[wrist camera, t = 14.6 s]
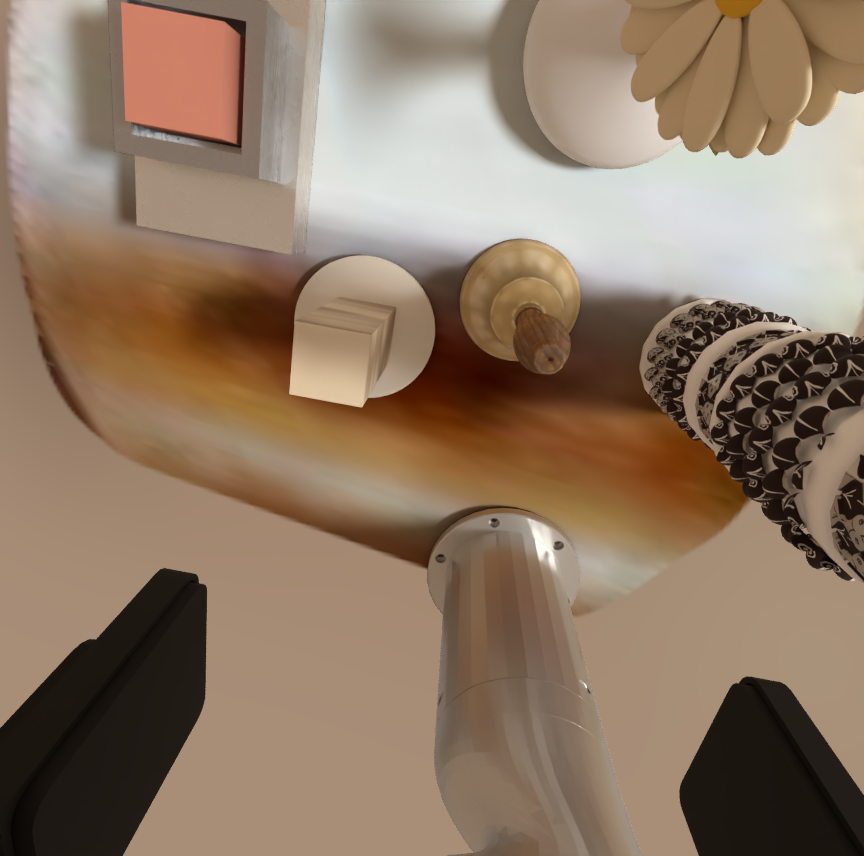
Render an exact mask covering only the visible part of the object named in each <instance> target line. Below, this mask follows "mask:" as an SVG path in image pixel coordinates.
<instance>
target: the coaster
mask: <svg viewBox="0 0 864 856" xmlns="http://www.w3.org/2000/svg"><path fill="white" fill-rule="evenodd" d="M338 297H344V298H350V299H355V300H360V301H366V302H371V303H377V304H382V305H387V306H393V307H396V314H395V321H394V328H393V335H392V342H391V349H390V355H389V362H388V364H387V366H386V368H385V369H384V371H383V373H382V375H381V376H380V378H379V380H378V381H377V383H376V385H375V386H374V388H373V390H372V391H371V393H370V395H369V397H368V398H375V397H382V396H386V395H390V394H392V393H395V392H397V391H399V390H401V389H403V388H404V387H406V386H407V385H409V384H410V383H411V382H412V381H413V380H415V379H416V378H417V376H418V375H419V374H420V373H421V372H422V370H423V369H424V367H425V365H426V364H427V362H428V360H429V357H430V355H431V352H432V348H433V345H434V340H435V317H434V313H433V309H432V306H431V303H430V300H429V298H428V296H427V294H426V292H425V291H424V289H423V288H422V286H421V285H420V284H419V282H418V281H417V280H416V279H415V278H414V277H413V276H412V275H411V274H410V273H409V272H408V271H406V270H405V269H404V268H402V267H401V266H399V265H397V264H396V263H393V262H391V261H389V260H387V259H383V258H380V257H375V256H369V255H357V256H349V257H346V258H342V259H338V260H336V261H333V262H331V263H329V264H327V265H326V266H324V267H322V268H321V269H320V270H319V271H317V272H316V273H315V274H314V275H313V276H312V277H311V278H310V279H309V281H308V282H307V283H306V285H305V286H304V288H303V290H302V292H301V294H300V296H299V299H298V302H297V305H296V310H295V317H294V325H295V320H297V319H299V318H301V317H303V316H305V315H307V314H308V313H310V312H312V311H314V310H316V309H318V308H320V307H321V306H323V305H325V304H327V303H329V302H331V301H332V300H334V299H336V298H338Z"/></svg>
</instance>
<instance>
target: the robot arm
mask: <svg viewBox="0 0 864 856" xmlns="http://www.w3.org/2000/svg"><path fill="white" fill-rule="evenodd" d="M492 518H496V519H492ZM556 541H557V542H556ZM427 582H428V586H429V591H430V594H431V597H432V599H433V601H434V603H435V605H436V606H437V607H438V609H439V610H440V612H441V613H442V614H443V623H442V624H443V625H442V639H441V653H440V654H441V655H440V668H439V683H438V698H437V714H436V728H435V747H434V764H435V773H436V779H437V784H438V787H439V790H440V793H441V797H442V800H443V802H444V805H445V807H446V809H447V811H448V813H449V815H450V817H451V819H452V821H453V822H454V824H455V826H456V828H457V829H458V831H459V832H460V834H461V835H462V837H463V839H464V840H465V842H466V843H467V844H468V846H469V847H470V849H471V850H472V851H473V853H468V854H457V855H448V856H642V853H641V850H640V848H639V845H638V842H637V840H636V837H635V834H634V832H633V829H632V826H631V823H630V820H629V817H628V814H627V811H626V808H625V805H624V802H623V799H622V796H621V792H620V789H619V785H618V782H617V778H616V775H615V772H614V768H613V764H612V761H611V757H610V754H609V750H608V746H607V742H606V739H605V735H604V731H603V728H602V725H601V721H600V718H599V714H598V710H597V706H596V702H595V699H594V695H593V691H592V688H591V684H590V680H589V676H588V673H587V669H586V665H585V661H584V657H583V654H582V650H581V646H580V642H579V639H578V635H577V631H576V627H575V623H574V620H573V616H572V612H571V606H572V604H573V602H574V600H575V598H576V596H577V594H578V590H579V586H580V567H579V563H578V559H577V556H576V553H575V550H574V548H573V546H572V544H571V543H570V541H569V539H568V538H567V536H566V535H565V534H564V533H563V532H562V531H561V530H560V529H559V528H558V527H557V526H555V525H554V524H553V523H551V522H550V521H548V520H547V519H545V518H543V517H541V516H539V515H536V514H534V513H531V512H527V511H524V510H520V509H511V508H496V509H487V510H483V511H479V512H475V513H472V514H470V515H468V516H466V517H463V518H461V519H460V520H458V521H457V522H455V523H454V524H452V525H451V526H450V527H449V528H448V529H447V530H446V531H445V532H444V533H443V534H442V535H441V536H440V537H439V539H438V540H437V542H436V543H435V545H434V547H433V549H432V552H431V555H430V557H429V564H428V572H427ZM206 617H207V588H206V585H204V584H199V580H198V576H197V575H196V574H192V573H187V572H182V571H176V570H171V569H166V568H164V569H160V570H159V571H158V572H157V573H156V574H155V575H154V576H153V577H152V578H151V579H150V581H149V582H148V583H147V584H146V585H145V586H144V587H143V588H142V589H141V591H140V592H139V593H138V594H137V595H136V596H135V597H134V598H133V599H132V601H131V602H130V603H129V604H128V605H127V606H126V607H125V608H124V609H123V611H122V612H121V613H120V614H119V615H118V616H117V617H116V618H115V620H113V622H112V623H111V624H110V625H109V626H108V627H107V628H106V629H105V631H103V633H102V634H101V635H100V636H99V637H98V638H97V639H96V640H95V639H89V640H87V641H85V642H83V643H81V644H80V645H79V646H78V647H77V648H75V649H74V650H73V651H72V652H71V653H70V654H69V655H68V656H67V657H66V658H65V659H64V661H63V662H62V663H61V664H60V665H59V666H58V667H57V668H56V669H55V670H54V671H53V672H52V673H51V674H50V676H49V677H48V678H47V679H46V680H45V681H44V682H43V683H42V684H41V685H40V686H39V687H38V688H37V689H36V691H35V692H34V693H33V694H32V695H31V696H30V697H29V698H28V699H27V700H26V701H25V702H24V703H23V704H22V706H21V707H20V708H19V709H18V710H17V711H16V712H15V713H14V714H13V715H12V716H11V717H10V718H9V720H7V722H6V723H5V724H4V725H3V726H2V727H1V728H0V856H123V854H124V852H125V850H126V849H127V847H128V845H129V843H130V841H131V840H132V838H133V836H134V834H135V832H136V830H137V828H138V827H139V825H140V823H141V821H142V820H143V818H144V816H145V814H146V812H147V810H148V809H149V807H150V805H151V803H152V801H153V799H154V798H155V796H156V794H157V792H158V791H159V789H160V787H161V785H162V783H163V781H164V780H165V778H166V776H167V774H168V772H169V770H170V768H171V767H172V765H173V763H174V761H175V760H176V758H177V756H178V754H179V752H180V750H181V749H182V747H183V745H184V743H185V741H186V740H187V738H188V736H189V734H190V732H191V731H192V729H193V727H194V725H195V723H196V721H197V719H198V718H199V716H200V713H201V711H202V708H203V704H204V700H205V683H206V621H207V620H206V619H207V618H206ZM680 803H681V807H682V811H683V813H684V816H685V818H686V822H687V824H688V827H689V830H690V833H691V835H692V838H693V841H694V843H695V846H696V849H697V852H698V854H699V856H864V795H863V794H862V792H861V791H860V789H859V788H858V787H857V785H856V783H855V782H854V781H853V779H852V778H851V776H850V775H849V773H848V772H847V771H846V769H845V768H844V766H843V765H842V763H841V762H840V761H839V759H838V758H837V756H836V755H835V753H834V752H833V750H832V749H831V747H830V746H829V745H828V743H827V742H826V740H825V739H824V737H823V736H822V735H821V733H820V732H819V730H818V729H817V727H816V726H815V725H814V723H813V722H812V720H811V719H810V718H809V716H808V714H807V713H806V711H805V710H804V709H803V707H802V706H801V704H800V703H799V701H798V700H797V698H796V697H795V696H794V694H793V693H792V691H791V690H790V689H789V688H788V687H787V686H786V685H785V684H783V683H781V682H776V681H770V680H765V679H760V678H754V677H745V678H743V679H742V680H741V681H740V682H739V684H738V683H735V684H733V685H732V686H731V688H730V689H729V691H728V693H727V695H726V697H725V699H724V701H723V703H722V705H721V707H720V709H719V711H718V712H717V715H716V716H715V718H714V720H713V723H712V724H711V726H710V728H709V730H708V732H707V734H706V736H705V738H704V740H703V742H702V744H701V745H700V747H699V749H698V751H697V753H696V755H695V757H694V759H693V761H692V763H691V765H690V767H689V769H688V771H687V773H686V775H685V777H684V779H683V780H682V783H681V786H680Z"/></svg>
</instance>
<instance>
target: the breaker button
mask: <svg viewBox="0 0 864 856" xmlns="http://www.w3.org/2000/svg"><path fill="white" fill-rule="evenodd" d="M121 15H122V42H123V70H124V98H125V121H128V122H131V123H135V124H138V125H141V126H144V127H148V128H151V129H154V130H157V131H161V132H164V133H167V134H170V135H175V136H180V137H186V138H191V139H196V140H202V141H207V142H212V143H217V144H223V145H228V146H233V147H238V148H242V126H243V99H244V71H245V44H246V39H245V38H243V37H242V36H241V35H240V34H239V33H237V32H236V31H235V30H234V29H233V28H231V27H230V26H229V25H228V24H227V23H225V22H224V21H219V20H213V19H208V18H203V17H198V16H192V15H187V14H182V13H177V12H171V11H166V10H161V9H156V8H150V7H145V6H140V5H135V4H129V3H124V2H121Z"/></svg>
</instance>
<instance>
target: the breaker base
mask: <svg viewBox="0 0 864 856" xmlns="http://www.w3.org/2000/svg"><path fill="white" fill-rule="evenodd" d="M121 2H124V3H129V4H135V5H140V6H145V7H150V8H156V9H161V10H166V11H171V12H177V13H182V14H187V15H192V16H198V17H203V18H208V19H213V20H219V21H224V22H225V23H227V24H228V25H229V26H230V27H231V28H233V29H234V30H235V31H236V32H237V33H239V34H240V35H241V36H242V37H243V38H245V39H246V44H245V71H244V99H243V126H242V148H238V147H233V146H228V145H223V144H217V143H212V142H207V141H202V140H196V139H191V138H186V137H180V136H175V135H170V134H167V133H164V132H161V131H157V130H154V129H151V128H148V127H144V126H141V125H138V124H135V123H131V122H128V121H125V98H124V70H123V42H122V15H121ZM325 6H326V0H108V16H109V39H110V62H111V85H112V108H113V131H114V151H116V152H120V153H125V154H130V155H135V185H136V217H137V226H142V227H148V228H153V229H158V230H163V231H169V232H174V233H179V234H185V235H190V236H195V237H200V238H206V239H211V240H216V241H222V242H227V243H232V244H237V245H243V246H248V247H253V248H259V249H264V250H269V251H274V252H280V253H285V254H290V255H293V254H299V253H305V250H306V238H307V226H308V214H309V201H310V189H311V177H312V165H313V153H314V140H315V128H316V116H317V104H318V91H319V79H320V67H321V55H322V43H323V30H324V18H325Z"/></svg>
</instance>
